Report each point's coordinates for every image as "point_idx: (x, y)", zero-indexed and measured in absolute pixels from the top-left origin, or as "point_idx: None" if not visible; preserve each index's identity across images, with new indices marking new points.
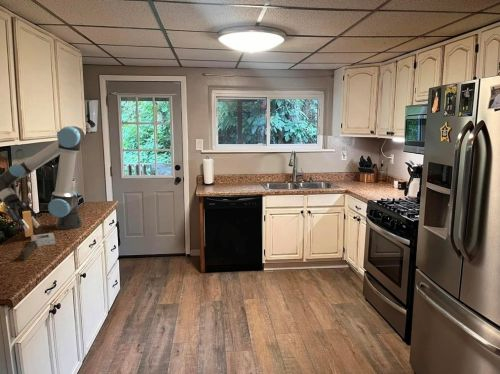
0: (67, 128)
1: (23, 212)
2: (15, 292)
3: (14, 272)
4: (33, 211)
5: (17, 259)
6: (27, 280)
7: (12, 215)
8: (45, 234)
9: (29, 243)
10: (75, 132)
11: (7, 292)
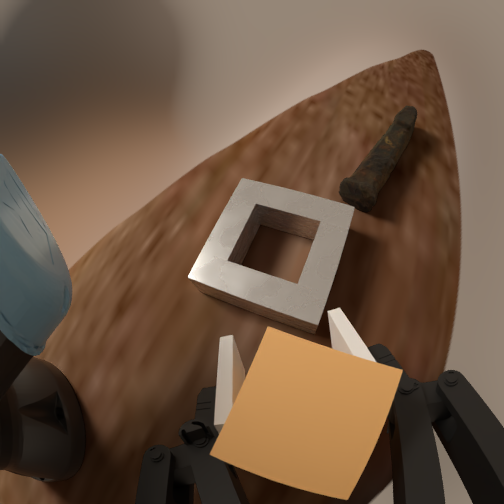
0: None
1: (376, 396)
2: (420, 51)
3: (427, 91)
4: (144, 491)
5: (423, 146)
6: (403, 60)
7: (494, 417)
8: (238, 274)
9: (373, 188)
10: None
11: (430, 57)
